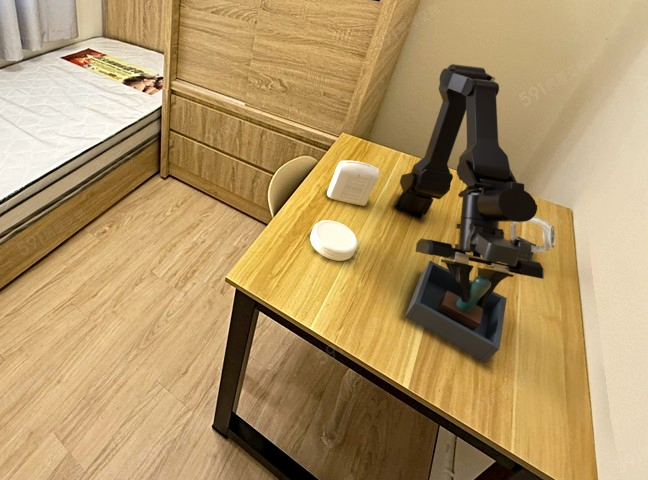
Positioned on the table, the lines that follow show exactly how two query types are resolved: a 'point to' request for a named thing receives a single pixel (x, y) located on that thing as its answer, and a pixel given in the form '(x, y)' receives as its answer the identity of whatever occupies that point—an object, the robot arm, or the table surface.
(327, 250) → the white thick round disc
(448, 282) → the basket
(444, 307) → the teal handled stamp
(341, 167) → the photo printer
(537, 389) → the table surface
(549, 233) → the watch
